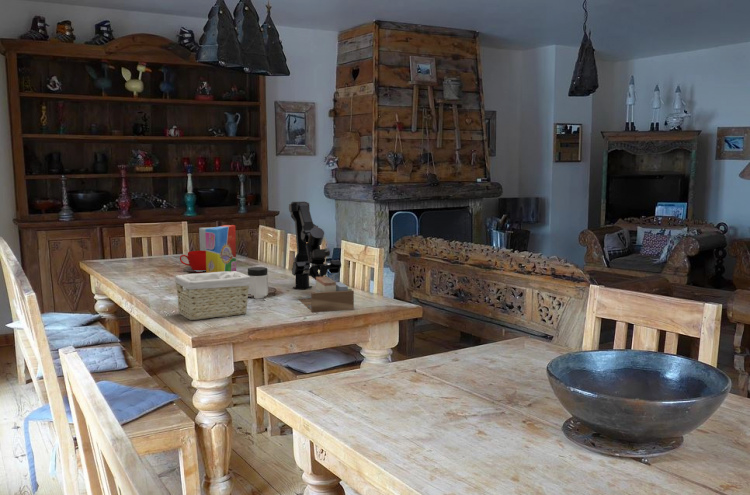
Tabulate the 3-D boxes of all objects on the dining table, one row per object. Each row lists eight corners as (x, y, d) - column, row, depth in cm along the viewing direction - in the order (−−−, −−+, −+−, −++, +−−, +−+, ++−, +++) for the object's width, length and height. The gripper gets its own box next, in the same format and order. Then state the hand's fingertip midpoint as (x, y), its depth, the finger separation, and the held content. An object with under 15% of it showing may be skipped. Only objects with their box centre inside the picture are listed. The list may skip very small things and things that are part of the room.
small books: (333, 303, 260) (333, 282, 259) (344, 303, 262) (344, 281, 261) (340, 309, 251) (340, 286, 250) (351, 308, 252) (351, 286, 251)
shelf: (298, 301, 269) (297, 282, 268) (336, 299, 274) (336, 280, 273) (312, 314, 246) (312, 293, 245) (353, 311, 251) (353, 291, 250)
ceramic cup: (179, 270, 345) (179, 251, 343) (213, 269, 350) (212, 250, 348) (180, 274, 332) (179, 254, 331) (215, 272, 337) (214, 253, 336)
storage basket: (235, 306, 259) (235, 269, 257) (252, 314, 246) (251, 275, 244) (174, 314, 246) (173, 274, 244) (188, 323, 233) (187, 281, 231)
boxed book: (315, 301, 264) (315, 276, 263) (326, 300, 266) (326, 276, 264) (324, 308, 251) (324, 282, 250) (336, 308, 253) (336, 282, 251)
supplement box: (228, 258, 389) (227, 228, 387) (205, 259, 383) (205, 229, 380) (221, 255, 401) (220, 226, 398) (199, 257, 394) (198, 227, 392)
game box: (217, 291, 290) (216, 229, 286) (206, 290, 291) (204, 228, 287) (236, 282, 310) (235, 224, 306) (225, 282, 311) (224, 224, 308)
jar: (243, 297, 277) (242, 268, 275) (255, 294, 284) (255, 266, 282) (260, 299, 272) (259, 270, 271) (272, 296, 280) (272, 268, 278)
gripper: (294, 242, 264) (301, 273, 255) (340, 240, 270) (347, 271, 261) (291, 259, 273) (297, 290, 264) (335, 257, 279) (342, 287, 270)
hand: (321, 284), depth 264 cm, fingers closed, pressing on boxed book
